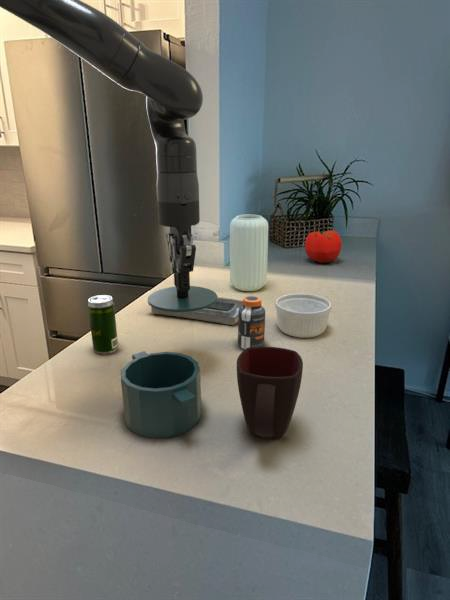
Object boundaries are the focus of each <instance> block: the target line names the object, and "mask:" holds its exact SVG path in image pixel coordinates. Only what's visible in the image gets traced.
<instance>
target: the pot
mask: <svg viewBox="0 0 450 600" xmlns="http://www.w3.org/2000/svg"><path fill="white" fill-rule="evenodd" d="M131 358H132V360H130V361H128V362H127V363H125V364H124V366H123V367H122V369H121V370H120V385H121V394H122V403H123V404H122V405H123V414H124V421H125V424H126V426H127V427H128V429H129V430H130V431H131V432H133V433H135V434H137V435H138V436H141V437H143V438H144V437H145V438H150V439H163V438H164V439H165V438H171V437H176V436H179V435H181V434H183V433H186V432H188V431H189V430H191V429H192V428H193V427H195V425H197V423H198V422H199V420H200V419H201V415H202V387H201V386H202V384H201V383H202V382H201V368H200V365H199V362H198V361H197V360H196V359H194V358H193V356H190V355H187V354H184V353H180V352H172V351H161V352H150V353H147V352H146V351H140V352H137V353H133V354H132V355H131Z"/></svg>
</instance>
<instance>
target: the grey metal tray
mask: <svg viewBox="0 0 450 600" xmlns="http://www.w3.org/2000/svg"><path fill="white" fill-rule="evenodd" d="M241 306H243V300H240V299H235V298H228V297H220V296H217V301H216V303H214V304H213V305H212V306H210V307H208V308H204V309H201V310H196V311H189V312H169V311H162V310H158V309H155V308H153V307H151V306H150V308H151V309H150V310H151V313H152V314H156V315H157V314H158V315H162V316H163V315H164V316H172V317H177V318H186V319H192V320H198V321H205V322H212V323H217V324H223V325H229V326H230V325H231V326H235V325H236V324H238V310H239V308H240V307H241Z"/></svg>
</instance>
